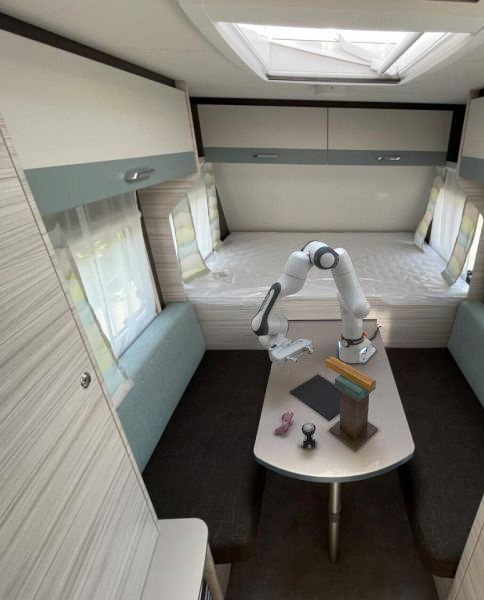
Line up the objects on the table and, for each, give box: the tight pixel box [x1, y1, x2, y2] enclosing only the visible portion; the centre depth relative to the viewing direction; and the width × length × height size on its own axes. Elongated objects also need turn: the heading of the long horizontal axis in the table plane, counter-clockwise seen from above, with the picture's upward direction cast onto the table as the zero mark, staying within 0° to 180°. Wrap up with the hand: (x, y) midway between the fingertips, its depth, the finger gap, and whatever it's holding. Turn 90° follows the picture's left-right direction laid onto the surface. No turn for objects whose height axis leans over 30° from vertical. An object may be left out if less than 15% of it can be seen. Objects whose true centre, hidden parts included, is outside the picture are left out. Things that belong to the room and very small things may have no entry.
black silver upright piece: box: [298, 422, 317, 449], centre depth 125 cm, size 7×5×10 cm
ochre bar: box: [325, 356, 376, 391], centre depth 124 cm, size 4×22×3 cm, turn 47°
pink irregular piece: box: [274, 410, 295, 435], centre depth 134 cm, size 10×5×7 cm, turn 168°
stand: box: [329, 366, 378, 452], centre depth 128 cm, size 14×14×26 cm
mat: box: [290, 374, 340, 421], centre depth 153 cm, size 18×26×1 cm
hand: (304, 356), depth 143 cm, fingers open, 8 cm apart
